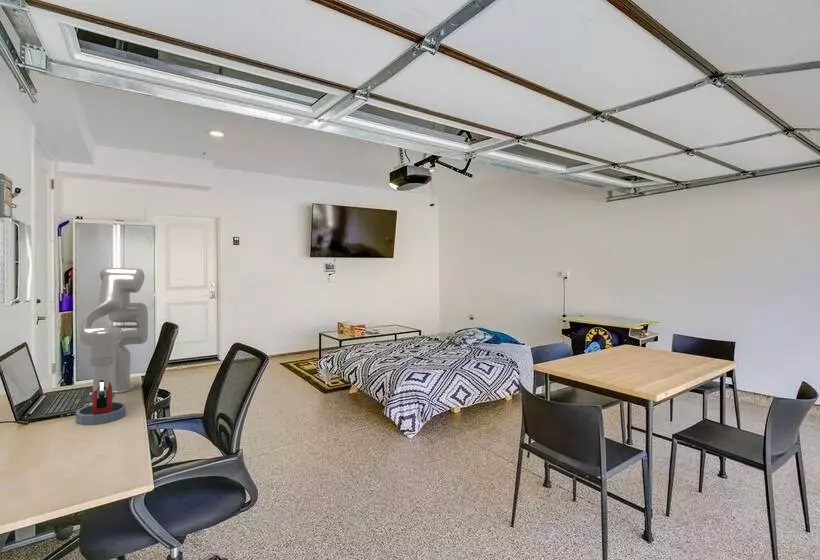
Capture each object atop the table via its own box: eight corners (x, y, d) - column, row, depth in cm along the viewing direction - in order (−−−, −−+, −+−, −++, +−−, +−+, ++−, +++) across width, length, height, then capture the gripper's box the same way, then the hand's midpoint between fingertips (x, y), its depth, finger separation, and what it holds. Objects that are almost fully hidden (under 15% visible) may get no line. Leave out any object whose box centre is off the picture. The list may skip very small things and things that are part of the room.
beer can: (116, 410, 173) (116, 381, 173) (103, 416, 167) (102, 386, 166) (101, 409, 174) (101, 380, 174) (87, 415, 168) (87, 385, 167)
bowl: (77, 414, 172) (77, 406, 172) (124, 408, 181) (125, 400, 181) (74, 427, 159) (74, 418, 159) (126, 419, 168) (126, 411, 168)
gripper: (91, 357, 175) (90, 400, 175) (89, 366, 160) (89, 413, 161) (113, 355, 179) (113, 397, 180) (113, 364, 165) (113, 409, 165)
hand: (101, 404), depth 170 cm, fingers closed on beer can, 6 cm apart
